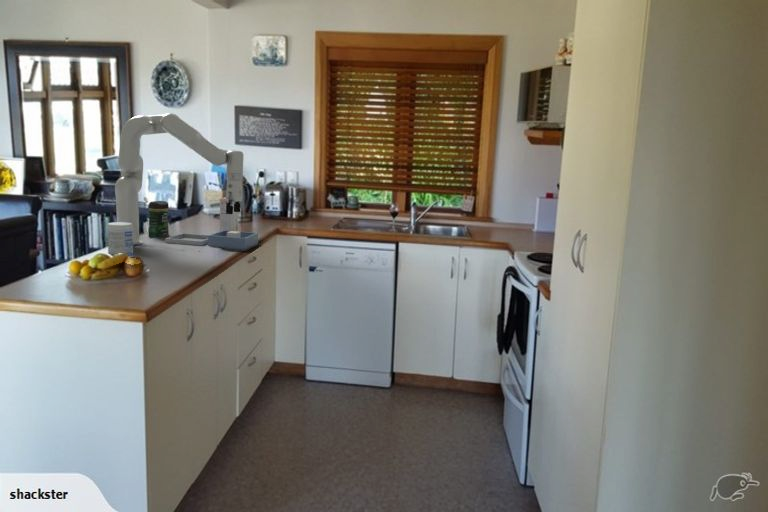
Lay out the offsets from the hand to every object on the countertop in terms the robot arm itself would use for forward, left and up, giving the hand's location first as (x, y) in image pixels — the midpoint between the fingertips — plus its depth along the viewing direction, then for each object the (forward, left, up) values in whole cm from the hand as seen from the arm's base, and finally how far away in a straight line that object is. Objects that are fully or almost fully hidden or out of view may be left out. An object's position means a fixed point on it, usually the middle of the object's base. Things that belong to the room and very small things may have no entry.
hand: (233, 212), depth 291 cm
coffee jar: (+6, +41, -17) cm, 44 cm away
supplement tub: (-46, +31, -17) cm, 58 cm away
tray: (-1, +21, -16) cm, 26 cm away
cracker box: (+24, +12, -17) cm, 31 cm away
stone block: (0, 0, -15) cm, 15 cm away
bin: (0, 0, -16) cm, 16 cm away
